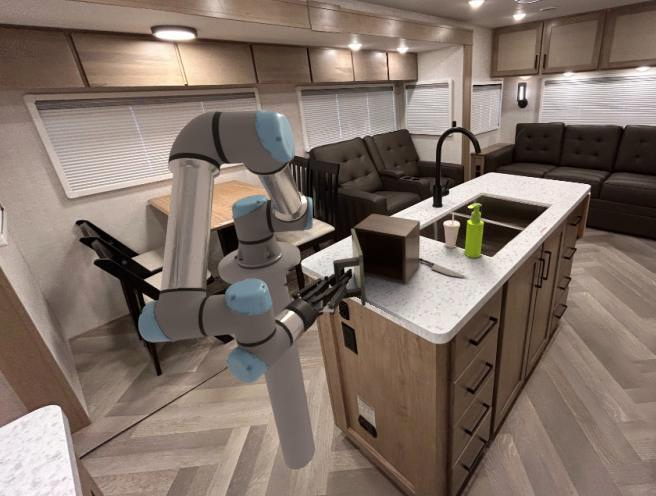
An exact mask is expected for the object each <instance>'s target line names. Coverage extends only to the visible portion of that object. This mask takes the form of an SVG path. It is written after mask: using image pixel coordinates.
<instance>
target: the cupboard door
mask: <svg viewBox="0 0 656 496" xmlns="http://www.w3.org/2000/svg"><path fill="white" fill-rule="evenodd" d="M350 234H351V235H350V236H351V248H352V249H351V250H352V257H348V258H341V259H336V260H333V261H332V264H333V265H332V266H333V274H334V276H335V284H336V283H337V280H338V279H339V278H340V277H341V269H340V268H344V269H347V268H351V267H353V272H354V278H355V282H356V286H357V287H355V288H349V289H348V288H347V294H346V295H345V297H344V298H343V299H342V300H346V299H351V298H357V297H359V298H360V303H361V306H362V307H364V306H366V305H367V303H366V289H365V287H366V286H365V274H364V269H363V255H362V251H361V248H360V245H359V242H358V239H357V236H356V233H355V230H354V228H351V229H350Z"/></svg>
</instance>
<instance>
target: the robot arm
mask: <svg viewBox="0 0 656 496" xmlns="http://www.w3.org/2000/svg"><path fill="white" fill-rule="evenodd" d="M168 154H169V155H168V160H167V161H168V162H167V169H168V171H169V172H170V173H171V174H172V180H171V189H170V197H169V198H170V199H169V207H168V215H167V216H168V217H167V225H166V234H165V235H166V237H165V242H164V243H165V245H164V253H163V262H162V272H161V280H160V282H161V283H160V291H159V296H158V300H154V301H151V302H149V303H147V304H145V306H143V308H142V311H141V314H139V317H138V332H139V334H140V335H141V337H142V338H143V340H145V341H147V342H150V343H162V342H163V343H165V342H177V341H181V340H190V339H197V338H206V337H215V336H217V337H218V336H225V335H234V336H235V341H236V347H234V348H233V349H232V350H231V351H230V352H229V353H228V355H227V358H226V366H227V368H228V370H229V372H230V373H231V374H232V376H234V378H236V379H237V380H238V381H240V382H242V383H245V384H252V383H254V382H256V381H257V380H259V379H260V378H261V377H262V376H263V375H264V373H265V372H266V371H268V370H269V368H270V367H271V366H272V365H273V364H274V363H275V362H276V361H277V360H278V359H279V358H280V357H281V356H282V355H283V354H284V353H285V352H286V351H287V350H288V349H289V348H290V347H291V346H292V345H293V344H294V343H295V342H296V341H297V342H298V340H299V339H300V338H301V337H302V336H303V334H305V333H307V331H308V330H310V328H311V327H312V326H313V325H314V324H315V322H316V320H317V318H319V317H321V316H323V315H324V313H329V314H330V315H331V316H333V315H335V314H336V311H337V308H338V307H339V305H340V304H341V302H342V301H343V300H344V299H343V298H344V297H345V295H346V294H347V290H348V288H347V285H348V284H349V283H350V280H352V278H353V269H352V268H348V269H347V271H346V270H345V269H346V268H340V269H341V277H340V278H339V279H338V280H337V283H336V284H335V276H334V273H332V274H330V275H329V276H328V275H325V276H323V278H324V279H322V277H319V278H317V279H315V280H313V281H312V282H310V283H309V284H307V285H305V286H304V287H303V288H301V289H300V290H298V291H295V292H292V293H291V294H290V296H291V301H290V304H288V305H287V306H286V307H285V308H284V309H283V310H281V311H280V312H279V313H277V314H276V315H275V316H274V312H273V306H272V300H271V297H270V294H269V290H268V287H267V285H266V283H265V282H263V281H262V280H259V279H245V280H244V281H238V282H236V283H234V284H230V285H229V286H228V288H226V291H225V292H224V293H225V294H224V293H223V294H214V295H207V281H208V270H209V269H208V268H209V255H210V254H209V253H210V243H211V242H210V240H211V229H212V228H211V227H212V214H213V203H214V202H213V199H214V188H215V179H217V178H218V177H219V176H220V174H221V166H223V165H235V164H238V165H239V164H243V165H244V166H245V168H246V169H247V170H248V172H250V173H252V174H253V175H256V176H257V178H258V179H259V181H260V183H261V184H262V186H263V188H264V189H265V192H266V193H267V195H268V196H267V195H266V194H261V193H259V194H253V195H248V196H245V197H242V198H240V199H238V200H236V201H234V202H233V204H232V205H231V214H232V219H233V223H234V228H235V232H236V236H237V240H238V247H237V249H238V253H237V255H236V256H235V257H234V258H235V259H237V263H238V265H239V266H240V267H241V268H244V269H260V268H264V267H268V266H270V265H273V264H275V263H276V262H278V261H279V260H280V259H281V258H282V255H283V254H282V249H281V247H280V246H279V244H278V242H279V241H278V240H277V239H276V237H275V234H276V233H285V232H297V231H298V232H300V231H301V232H305V231H309V230H312V229H313V226H314V221H313V219H314V218H313V217H314V216H313V215H314V214H313V198H312V197H310V196H305V195H304V193H302V192H300V191H299V189H298V186H297V183H296V180H295V178H294V175H293V172H292V170H291V167H290V162H291V161H292V160H293V159H294V158H295V155H296V144H295V138H294V135H293V129H292V126H291V124H290V122H289V120H288V119H287V117H286V116H285V115H284V114H283V112H281V111H279V110H267V109H261V110H238V111H237V110H236V111H235V110H233V111H232V110H231V111H230V110H229V111H217V110H216V111H215V110H214V111H209V112H208V111H207V112H204V113H201V114H199V115H197V116H195V117H193V118H192V119H191V120H190V121H188V122H187V124H185V126H183V128H182V129H181V130H180V132H178V134H177V136H176V137H175V138H174V140H173V143H172V145H171V148H170V151H169V153H168ZM268 197H269V198H268Z"/></svg>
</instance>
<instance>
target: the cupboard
mask: <svg viewBox="0 0 656 496" xmlns="http://www.w3.org/2000/svg"><path fill="white" fill-rule="evenodd" d="M353 229H354V230H355V233H356V236H357V239H358V242H359V245H360V248H361V251H362V255H363V269H364V276H365V275H366V276H370V277H374V278H378V279H383V280H387V281H392V282H394V283H395V282H396V283H400V284H404V285H407V283H408V281H409V280H410V278H411V277H412V276H413V275H414V273H415V272H416V270H417V269H418V267H419V266H420V261H419V258H420V251H421V250H420V247H421V245H420V243H421V220H416V219H410V218H405V217H398V216H391V215H385V214H384V215H383V214H378V213H371V214H370V215H369V216H367V217H365V218H364V219H362V221H360V222H359V223H358V224H356V225H355V226H353Z"/></svg>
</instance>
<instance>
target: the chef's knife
mask: <svg viewBox="0 0 656 496" xmlns="http://www.w3.org/2000/svg"><path fill="white" fill-rule="evenodd" d="M419 262H421V263H425V264H428V265H429V266H432V267H431V270H433V271H436V272H439V273H441V274H444V275H446V276H447V275H448V276H451V277H457V278H467V276H465V275H464V274H462V273H459V272H457V271H455V270H452V269H449V268H446V267H444V266H442V265H439V264H436V263H434V262H432V261H429V260H426V259H424V258H422V257H419Z"/></svg>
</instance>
